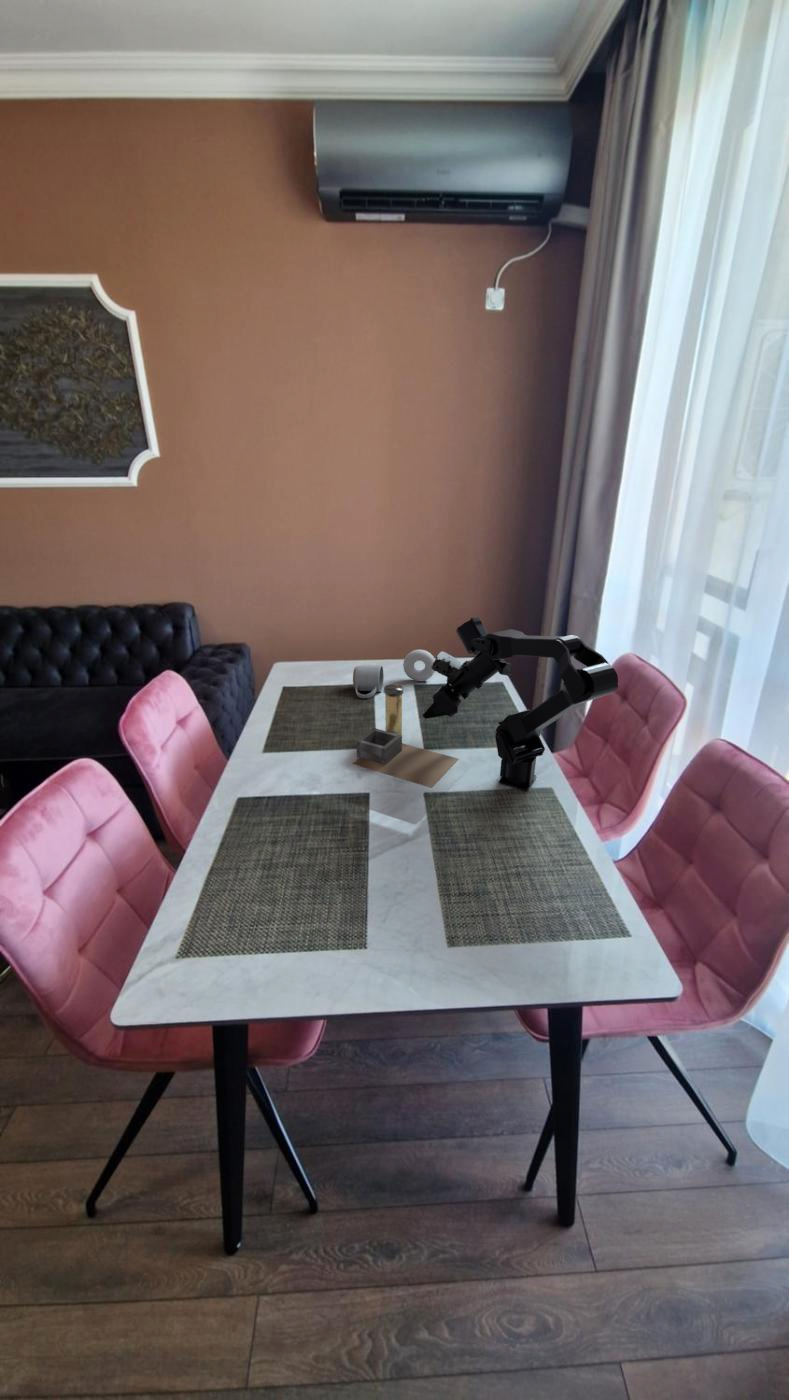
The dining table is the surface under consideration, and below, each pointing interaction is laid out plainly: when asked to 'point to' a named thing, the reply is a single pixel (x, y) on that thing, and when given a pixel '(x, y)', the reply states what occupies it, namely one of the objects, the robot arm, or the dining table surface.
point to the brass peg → (393, 708)
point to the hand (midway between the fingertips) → (429, 708)
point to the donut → (412, 671)
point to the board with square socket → (401, 758)
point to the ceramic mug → (368, 679)
